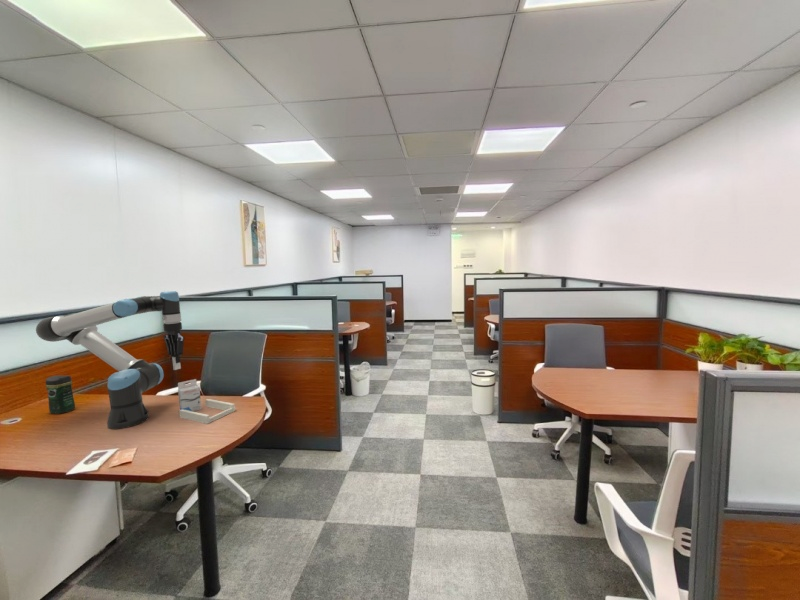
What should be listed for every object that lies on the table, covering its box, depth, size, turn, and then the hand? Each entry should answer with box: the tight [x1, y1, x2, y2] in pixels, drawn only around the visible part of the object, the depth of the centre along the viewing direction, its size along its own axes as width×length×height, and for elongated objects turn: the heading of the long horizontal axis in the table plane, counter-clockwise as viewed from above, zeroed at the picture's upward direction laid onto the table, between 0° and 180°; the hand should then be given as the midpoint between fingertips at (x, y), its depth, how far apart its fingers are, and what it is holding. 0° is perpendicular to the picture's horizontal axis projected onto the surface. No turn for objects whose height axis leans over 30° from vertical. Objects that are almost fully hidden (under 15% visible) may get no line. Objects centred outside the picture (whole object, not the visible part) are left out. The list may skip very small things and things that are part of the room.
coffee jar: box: [45, 375, 76, 415], centre depth 173 cm, size 10×8×19 cm
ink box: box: [177, 378, 202, 412], centre depth 168 cm, size 8×5×15 cm, turn 134°
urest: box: [178, 398, 236, 425], centre depth 164 cm, size 19×15×4 cm
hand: (177, 369), depth 171 cm, fingers closed
